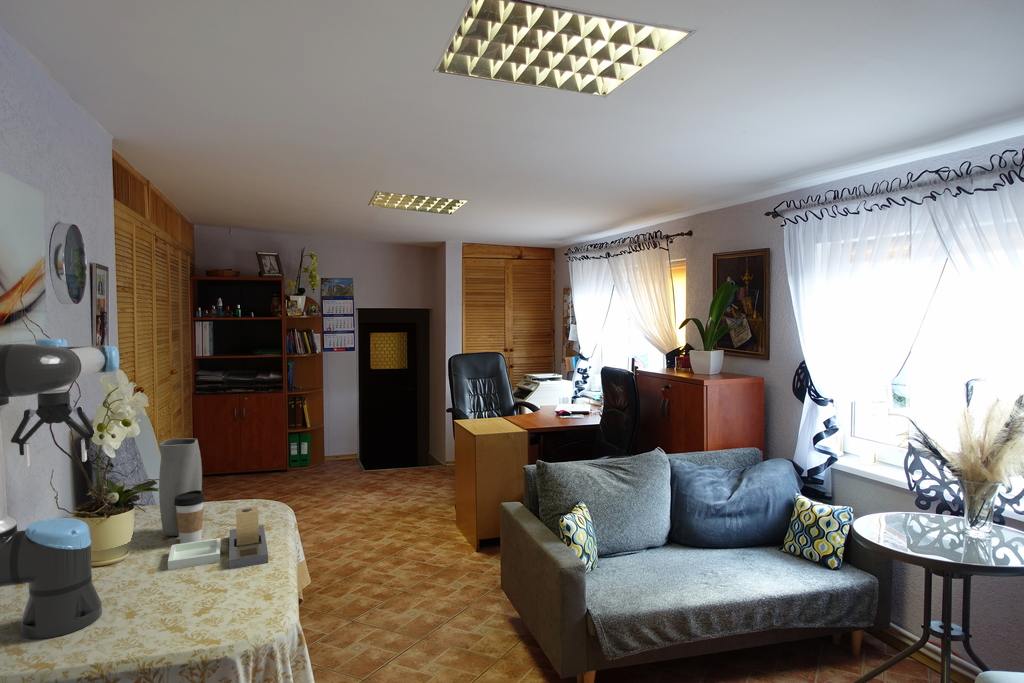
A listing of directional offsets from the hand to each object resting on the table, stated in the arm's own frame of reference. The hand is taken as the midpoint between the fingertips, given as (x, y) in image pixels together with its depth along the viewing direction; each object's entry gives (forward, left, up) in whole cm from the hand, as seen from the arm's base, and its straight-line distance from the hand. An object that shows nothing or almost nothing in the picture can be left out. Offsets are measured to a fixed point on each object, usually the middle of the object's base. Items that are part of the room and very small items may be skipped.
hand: (56, 463), depth 177 cm
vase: (+4, -31, -28) cm, 42 cm away
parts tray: (-20, -37, -27) cm, 50 cm away
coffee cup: (-5, -34, -28) cm, 44 cm away
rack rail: (-20, -51, -27) cm, 61 cm away
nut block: (-20, -51, -27) cm, 61 cm away
